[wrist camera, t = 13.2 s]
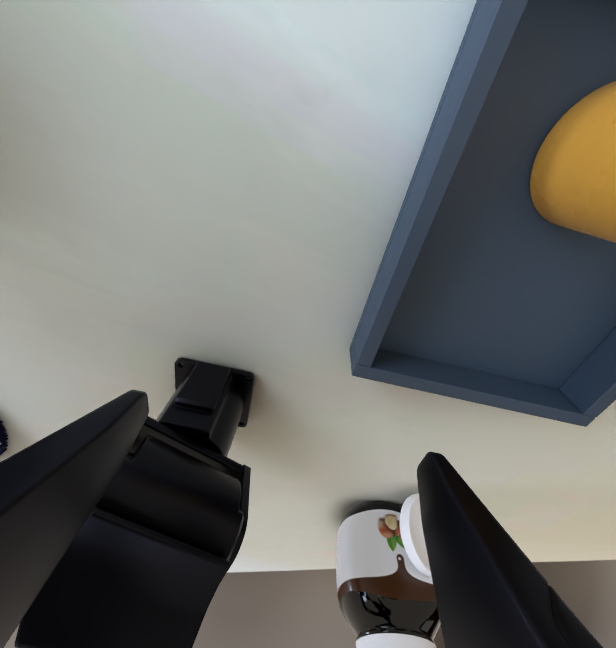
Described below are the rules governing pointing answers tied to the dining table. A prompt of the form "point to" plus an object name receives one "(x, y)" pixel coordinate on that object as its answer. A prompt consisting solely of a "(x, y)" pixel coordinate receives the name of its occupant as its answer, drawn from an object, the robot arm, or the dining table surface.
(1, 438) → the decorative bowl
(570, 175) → the tapered yellow cylinder
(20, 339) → the dining table surface
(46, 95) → the dining table surface
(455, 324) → the blue tray
